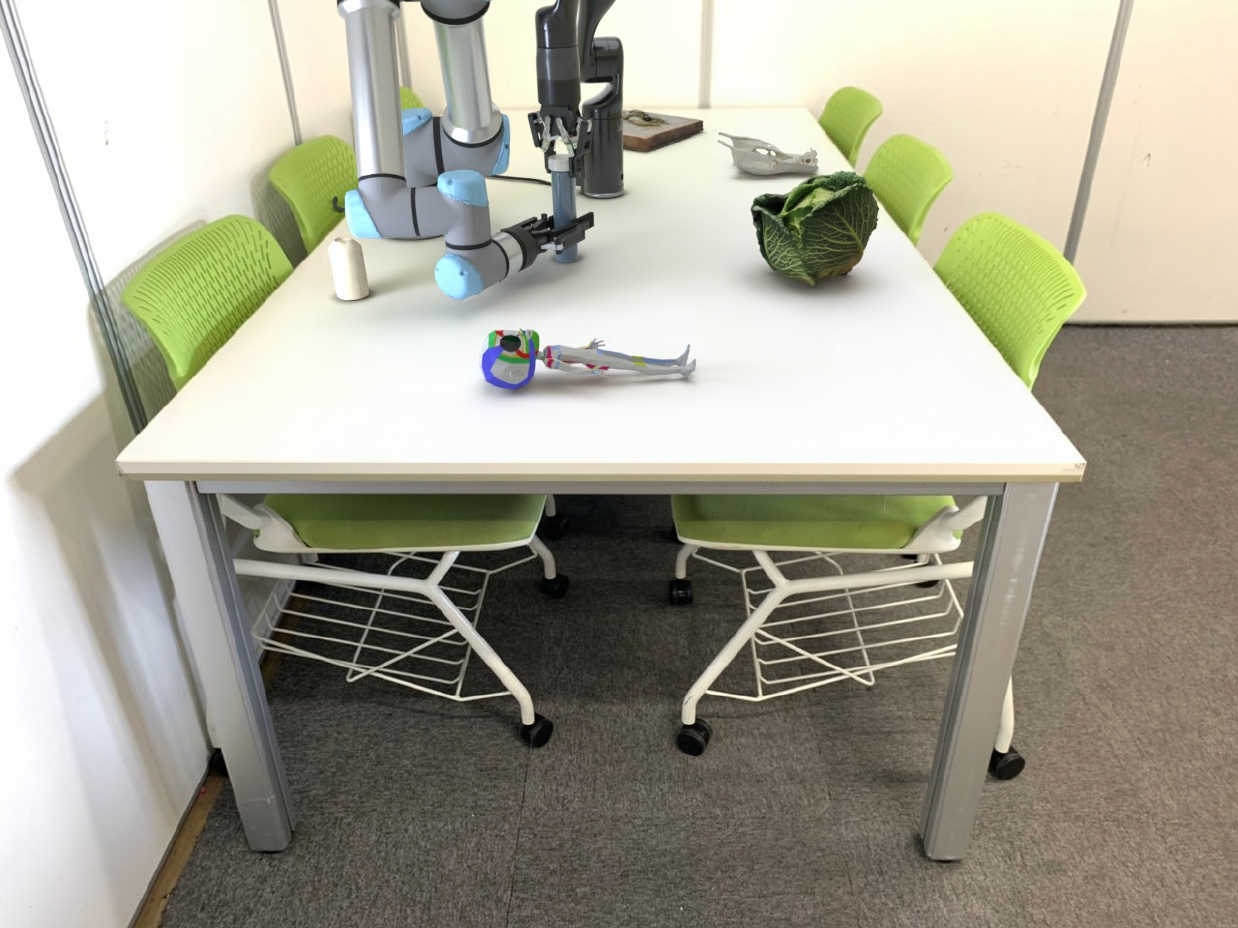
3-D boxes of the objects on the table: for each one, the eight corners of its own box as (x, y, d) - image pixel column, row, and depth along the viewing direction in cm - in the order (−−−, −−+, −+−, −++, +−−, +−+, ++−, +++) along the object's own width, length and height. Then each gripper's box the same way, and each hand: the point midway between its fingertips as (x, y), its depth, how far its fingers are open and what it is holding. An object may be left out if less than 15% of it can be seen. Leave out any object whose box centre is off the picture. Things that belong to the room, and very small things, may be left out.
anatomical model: (719, 128, 226) (819, 127, 222) (718, 166, 231) (817, 165, 227) (715, 142, 213) (822, 141, 210) (715, 181, 218) (819, 181, 215)
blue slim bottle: (569, 253, 174) (564, 155, 164) (583, 258, 171) (579, 159, 162) (550, 258, 172) (545, 159, 162) (564, 264, 169) (559, 164, 159)
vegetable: (776, 302, 169) (727, 209, 161) (858, 246, 170) (814, 150, 162) (827, 317, 151) (775, 212, 143) (918, 253, 152) (872, 146, 144)
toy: (701, 358, 123) (480, 340, 118) (690, 412, 127) (477, 397, 122) (689, 328, 131) (482, 310, 127) (679, 379, 136) (479, 364, 131)
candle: (375, 290, 158) (366, 235, 153) (358, 302, 154) (348, 245, 149) (348, 287, 160) (338, 232, 155) (330, 298, 156) (319, 242, 150)
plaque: (647, 125, 237) (559, 112, 252) (647, 153, 241) (560, 139, 256) (706, 107, 258) (622, 97, 273) (705, 133, 262) (622, 121, 277)
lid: (565, 163, 166) (565, 152, 165) (582, 168, 162) (582, 157, 161) (543, 168, 163) (542, 157, 162) (559, 173, 160) (559, 162, 159)
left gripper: (470, 265, 161) (544, 229, 178) (550, 282, 153) (620, 243, 170) (465, 224, 157) (542, 191, 174) (547, 239, 149) (619, 203, 166)
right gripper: (604, 75, 153) (606, 176, 162) (541, 68, 160) (546, 165, 170) (576, 81, 148) (580, 185, 157) (512, 74, 155) (520, 173, 165)
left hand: (580, 217), depth 172 cm, fingers closed on blue slim bottle, 4 cm apart
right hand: (563, 174), depth 163 cm, fingers closed on lid, 5 cm apart
